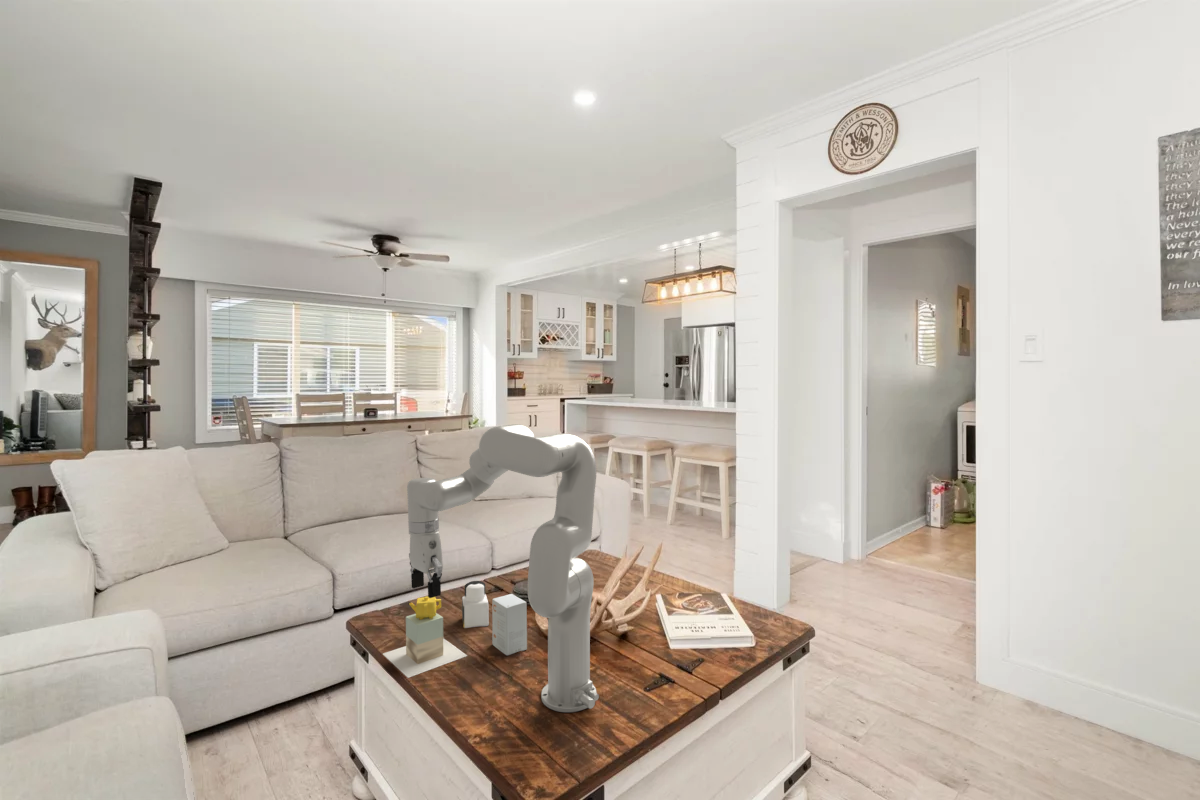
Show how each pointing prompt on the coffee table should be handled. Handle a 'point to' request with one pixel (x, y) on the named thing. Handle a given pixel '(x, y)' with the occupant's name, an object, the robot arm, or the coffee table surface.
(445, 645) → the felt pad
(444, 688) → the coffee table surface
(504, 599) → the small box
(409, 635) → the tower top
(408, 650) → the tower bottom
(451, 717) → the coffee table surface
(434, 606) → the teapot
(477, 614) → the medicine bottle
